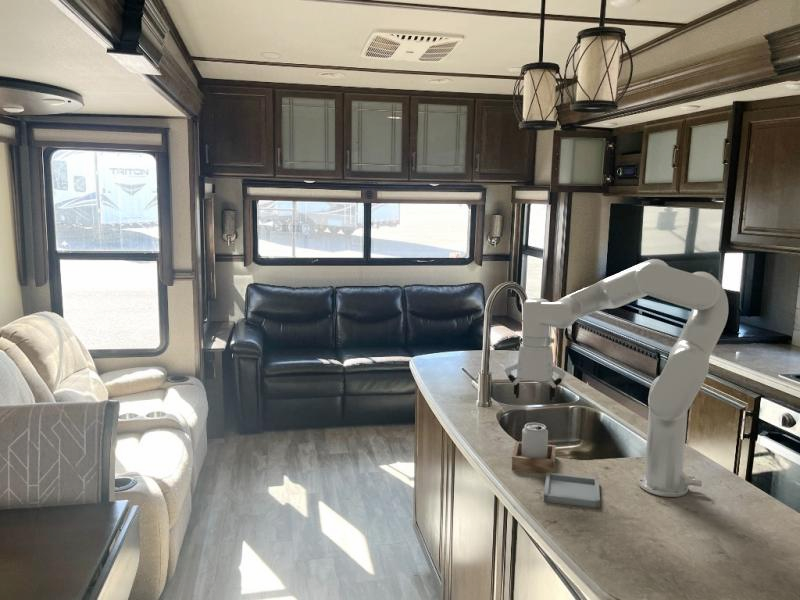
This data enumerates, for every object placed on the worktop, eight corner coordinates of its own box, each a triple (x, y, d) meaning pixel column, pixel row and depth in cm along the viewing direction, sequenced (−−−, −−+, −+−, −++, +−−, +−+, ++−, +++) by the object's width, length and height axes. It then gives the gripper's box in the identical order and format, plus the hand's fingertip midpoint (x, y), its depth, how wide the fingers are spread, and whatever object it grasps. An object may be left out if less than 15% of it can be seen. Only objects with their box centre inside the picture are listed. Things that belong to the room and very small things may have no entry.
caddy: (555, 457, 189) (555, 445, 189) (554, 474, 178) (554, 461, 177) (515, 453, 193) (516, 441, 192) (511, 469, 181) (512, 456, 181)
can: (547, 470, 181) (548, 431, 179) (521, 468, 182) (522, 429, 180) (546, 459, 188) (547, 422, 186) (521, 457, 190) (522, 420, 188)
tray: (598, 484, 172) (598, 478, 172) (599, 508, 159) (600, 501, 158) (546, 478, 176) (546, 472, 175) (543, 501, 162) (543, 494, 162)
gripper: (567, 340, 180) (564, 396, 183) (507, 336, 185) (505, 392, 188) (566, 346, 173) (564, 404, 176) (504, 342, 178) (503, 399, 181)
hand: (534, 398), depth 182 cm, fingers open, 9 cm apart
